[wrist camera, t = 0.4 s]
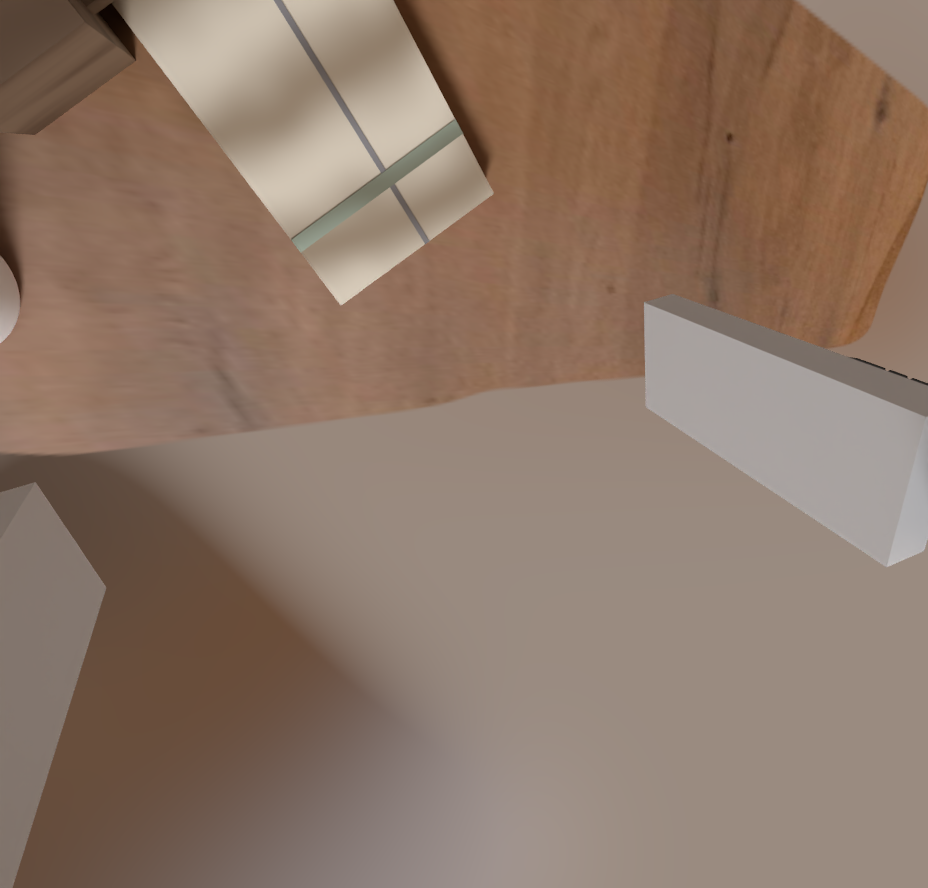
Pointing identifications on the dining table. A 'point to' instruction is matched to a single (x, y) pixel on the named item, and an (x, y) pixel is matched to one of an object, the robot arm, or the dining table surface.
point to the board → (322, 122)
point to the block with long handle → (53, 59)
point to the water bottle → (8, 300)
